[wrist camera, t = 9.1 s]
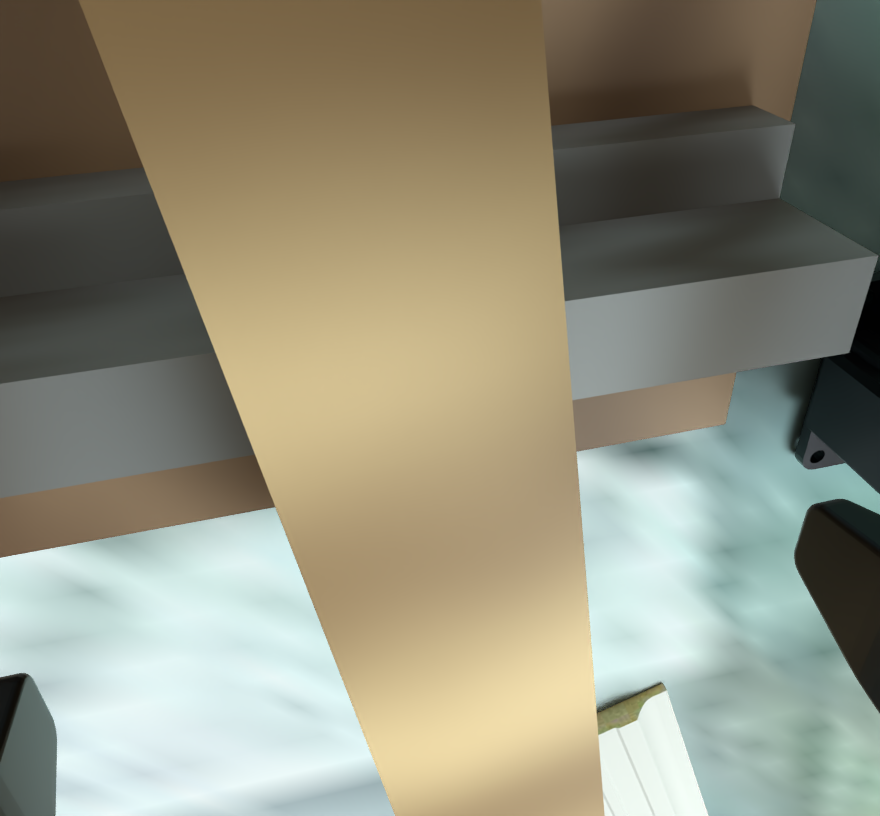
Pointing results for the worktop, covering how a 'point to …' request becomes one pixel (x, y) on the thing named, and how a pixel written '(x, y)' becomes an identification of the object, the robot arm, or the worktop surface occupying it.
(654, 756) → the baseboard molding
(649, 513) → the worktop surface
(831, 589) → the robot arm
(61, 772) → the worktop surface
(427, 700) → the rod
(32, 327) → the ridge stand
